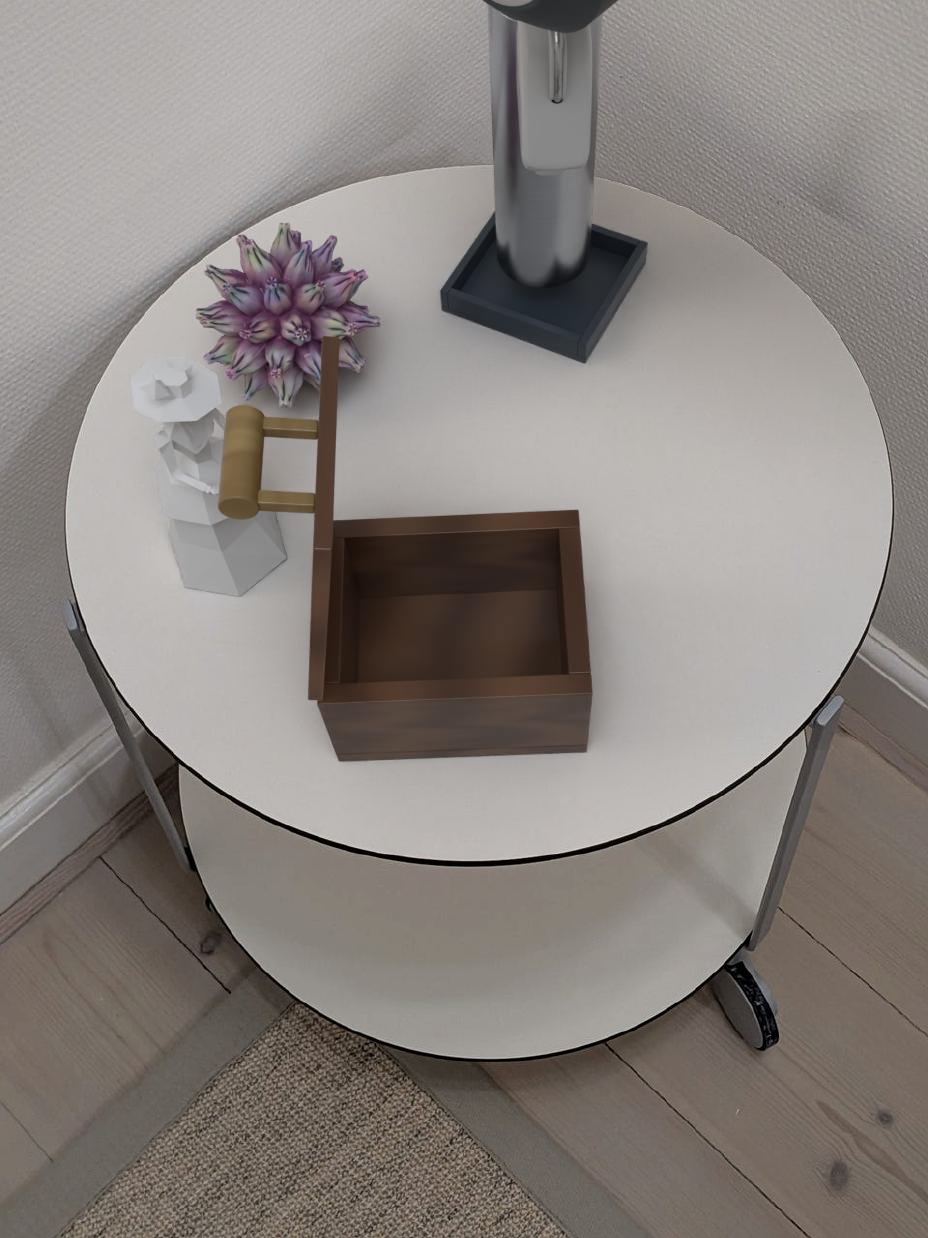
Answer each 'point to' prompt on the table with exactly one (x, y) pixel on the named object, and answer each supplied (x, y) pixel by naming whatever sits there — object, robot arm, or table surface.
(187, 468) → the figurine
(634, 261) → the tray
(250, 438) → the lid
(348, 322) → the flower
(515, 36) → the flask
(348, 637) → the chest
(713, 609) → the table surface
